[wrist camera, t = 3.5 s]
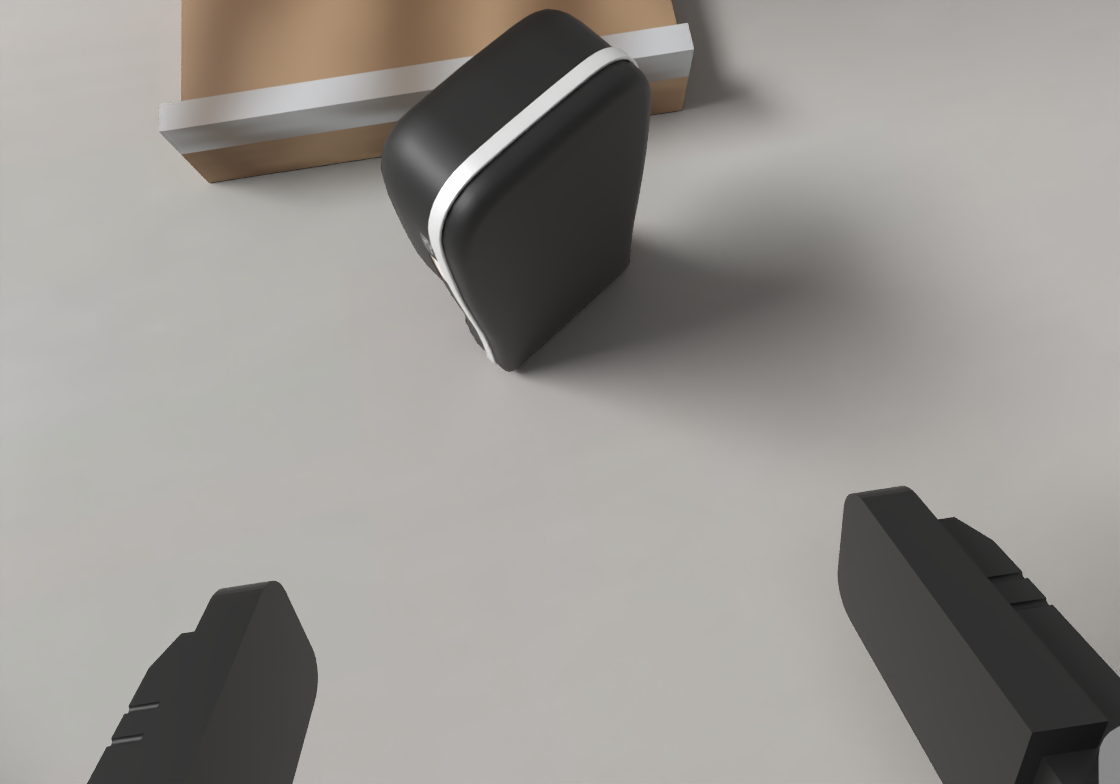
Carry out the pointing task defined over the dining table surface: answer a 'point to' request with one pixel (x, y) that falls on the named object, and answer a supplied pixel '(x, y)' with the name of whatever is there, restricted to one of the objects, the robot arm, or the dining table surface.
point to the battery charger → (524, 178)
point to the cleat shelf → (362, 71)
